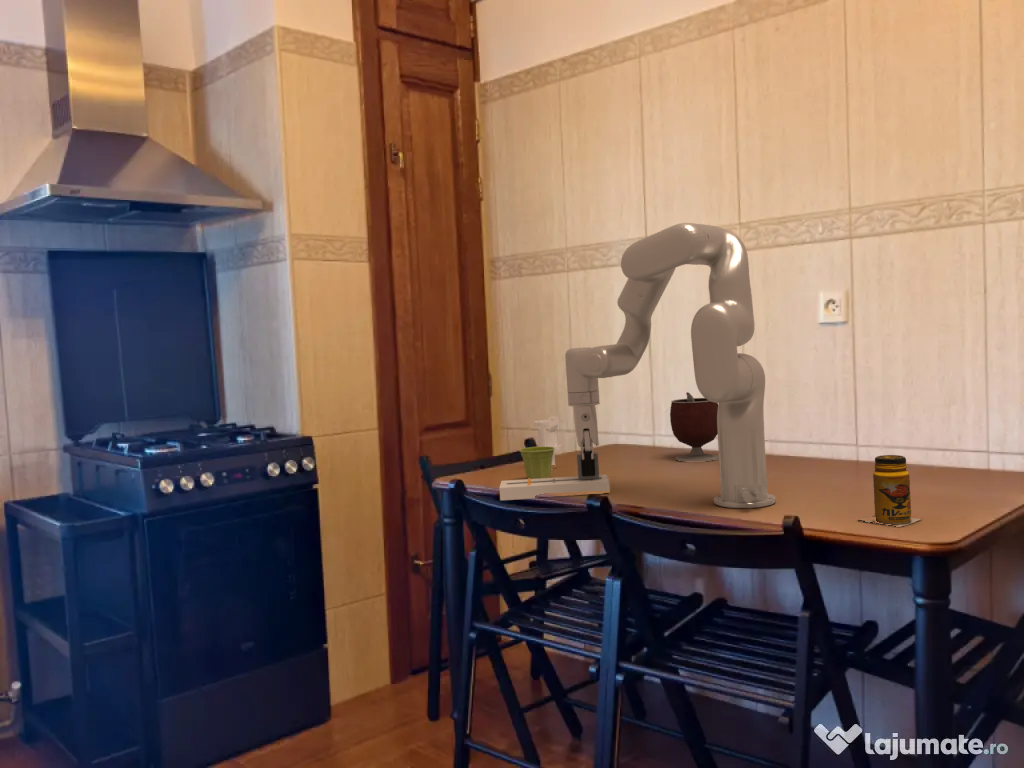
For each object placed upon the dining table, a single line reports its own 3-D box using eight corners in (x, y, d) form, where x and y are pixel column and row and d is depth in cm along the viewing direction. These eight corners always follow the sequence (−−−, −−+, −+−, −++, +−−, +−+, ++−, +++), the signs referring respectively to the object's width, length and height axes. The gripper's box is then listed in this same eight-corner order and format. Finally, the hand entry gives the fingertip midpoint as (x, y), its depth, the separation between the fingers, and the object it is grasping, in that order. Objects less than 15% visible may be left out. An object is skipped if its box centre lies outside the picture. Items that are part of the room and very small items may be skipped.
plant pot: (527, 478, 230) (525, 446, 230) (561, 477, 227) (558, 445, 227) (516, 484, 221) (514, 451, 221) (551, 484, 218) (548, 450, 218)
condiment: (900, 528, 150) (897, 460, 149) (856, 521, 157) (853, 457, 156) (922, 520, 154) (919, 455, 153) (878, 514, 161) (875, 452, 160)
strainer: (556, 470, 239) (553, 418, 238) (533, 470, 242) (530, 418, 242) (566, 466, 246) (562, 415, 245) (543, 466, 249) (540, 415, 248)
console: (610, 493, 199) (609, 480, 199) (500, 500, 201) (499, 487, 200) (607, 486, 209) (606, 474, 209) (502, 492, 211) (501, 480, 210)
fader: (599, 478, 203) (597, 453, 202) (578, 479, 203) (576, 454, 203) (598, 476, 206) (597, 451, 206) (578, 477, 206) (576, 452, 206)
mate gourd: (678, 455, 252) (674, 388, 251) (725, 455, 247) (721, 386, 245) (666, 464, 238) (662, 393, 237) (716, 463, 232) (712, 391, 231)
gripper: (601, 400, 195) (606, 479, 196) (597, 395, 211) (601, 468, 212) (568, 402, 195) (573, 481, 196) (567, 397, 212) (571, 470, 213)
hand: (588, 473), depth 204 cm, fingers closed on fader, 3 cm apart
